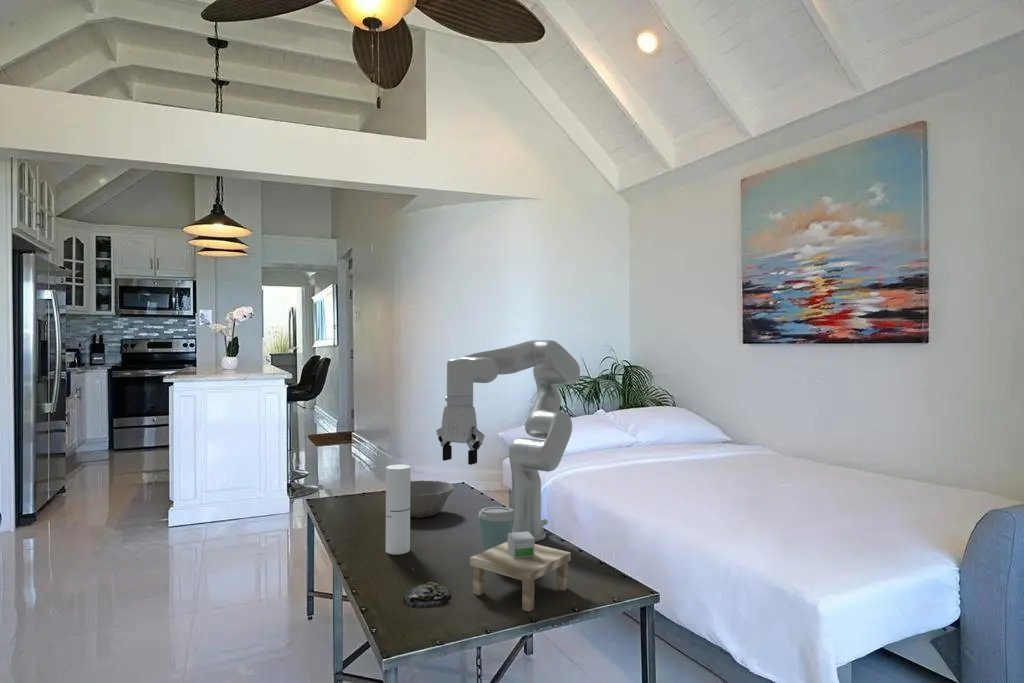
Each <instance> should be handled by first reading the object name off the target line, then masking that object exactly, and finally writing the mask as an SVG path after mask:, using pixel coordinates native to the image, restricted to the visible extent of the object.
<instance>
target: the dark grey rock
mask: <svg viewBox="0 0 1024 683" xmlns="http://www.w3.org/2000/svg"><path fill="white" fill-rule="evenodd" d="M450 597H451V590H450V588H448V587H445V586H443V585H439V584H438V583H435V582H434V581H431V582H427V583H425V584H418V585H415V586H411V587H410V588H409V589H408V590H407V591H406V592H405V594H404V595H403V598H402V604H405V606H406V607H407V606H408V607H409V608H417V609H419V608H433V607H437V606H441V605H442V604H444V603H445V602H448V600H449V599H450Z"/></svg>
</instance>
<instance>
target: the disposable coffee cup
mask: <svg viewBox="0 0 1024 683" xmlns="http://www.w3.org/2000/svg"><path fill="white" fill-rule="evenodd" d="M478 518H479V524H480V525H479V526H480V533H481V534H480V535H481V545H482V552H484V551H486V550H489V549H491V548H493V547H496V546H498V545H500V544H503V543H505V542H507V541H508V533H512V529H513V523H514V518H516V517H515V513H514V510H513V509H512V507H505V506H489V507H488V506H487V507H484V508H481V509H480V510H479V511H478Z"/></svg>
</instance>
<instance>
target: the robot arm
mask: <svg viewBox="0 0 1024 683" xmlns="http://www.w3.org/2000/svg"><path fill="white" fill-rule="evenodd" d="M531 368H533V369H532V370H533V371H532V372H533V378H534V381H535V384H536V390H537V392H536V393H537V394H536V398H535V400H534V402H533V405H532V407H531V410H530V412H529V415H528V417H527V418H526V421H525V424H524V430H525V433H526V434H527V435H528V436H530V437H519V438H516V439H514V440H513V441H512V442H511V443H510V445H509V447H508V460H509V464H510V472H511V509H513V510H514V513H515V517H516V518H514V523H513V529H512V533H517V532H529V533H530V534H531V535H532V536H533V537H534V538H535V542H541V541H543V540H544V539H546V537H547V536H546V535H547V534H546V531H545V530H543V527H544V526H546V525H548V524H549V523H548V522H549V521H548V519H547V518H543V519H542V480H541V476H540V473H539V471H541V472H546V473H547V472H549V473H550V472H554V471H555V470H556V469H557V468H558V467H559V465H560V463H561V461H562V458H563V456H564V454H565V451H566V450H567V446H568V443H569V441H570V439H571V435H572V433H573V421H572V419H571V417H570V415H569V414H567V413H566V412H565V411H559V410H560V407H561V404H562V397H561V393H560V392H559V389H558V387H557V385H573V384H575V383H576V382H578V381H579V379H580V376H581V367H580V365H579V363H578V362H577V360H576V359H575V358H574V357H573V355H571V354H570V353H569V352H568V350H567V349H566V348H564V346H562V345H561V344H560V343H559V342H557V341H555V340H551V339H549V340H548V339H547V340H546V339H545V340H544V339H537V340H535V339H534V340H533V339H532V340H526V341H523V342H520V343H517V344H513V345H509V346H505V347H501V348H495V349H491V350H490V349H489V350H485V351H479V352H476V353H471V354H468V355H464V356H461V357H459V358H458V357H457V358H456V357H455V358H450V359H448V361H447V363H446V396H445V397H444V400H445V402H446V405H445V406H444V408H443V411H442V416H441V417H442V419H441V426H440V427H439V428H437V429H436V432H435V433H436V435H437V439H438V441H439V442H440V446H441V447H442V461H450V460H452V458H453V455H452V454H453V453H452V452H453V448H452V445H451V444H452V443H455V444H466V445H467V446H468V448H469V449H468V451H467V453H468V454H467V457H468V458H467V464H468V465H469V466H472V465H476V464H477V463H478V450H479V449H480V447H481V446H482V445H483V442H484V439H485V437H486V435H485V434H484V433H482V431H480V430H478V423H477V413H476V409H475V406H474V383H476V384H477V383H478V384H489V383H491V382H493V381H494V380H496V378H497V377H498V376H499V375H502V376H503V375H513V374H515V373H518V372H522V371H525V370H528V369H531ZM531 437H532V438H531Z"/></svg>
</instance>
